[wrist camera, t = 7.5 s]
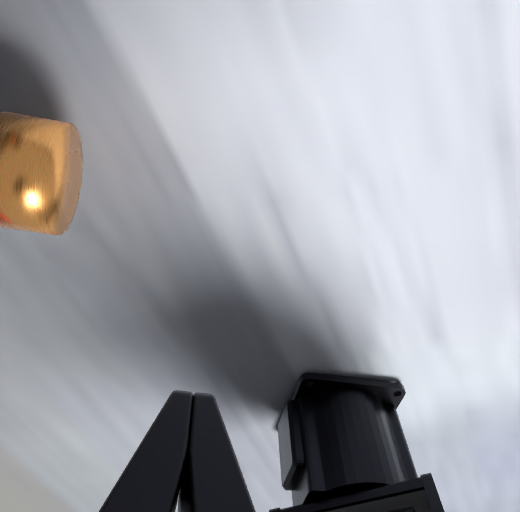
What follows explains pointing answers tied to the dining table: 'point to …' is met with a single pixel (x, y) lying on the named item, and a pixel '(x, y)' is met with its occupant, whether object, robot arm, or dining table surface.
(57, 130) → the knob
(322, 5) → the dining table surface
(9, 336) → the dining table surface
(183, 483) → the robot arm
